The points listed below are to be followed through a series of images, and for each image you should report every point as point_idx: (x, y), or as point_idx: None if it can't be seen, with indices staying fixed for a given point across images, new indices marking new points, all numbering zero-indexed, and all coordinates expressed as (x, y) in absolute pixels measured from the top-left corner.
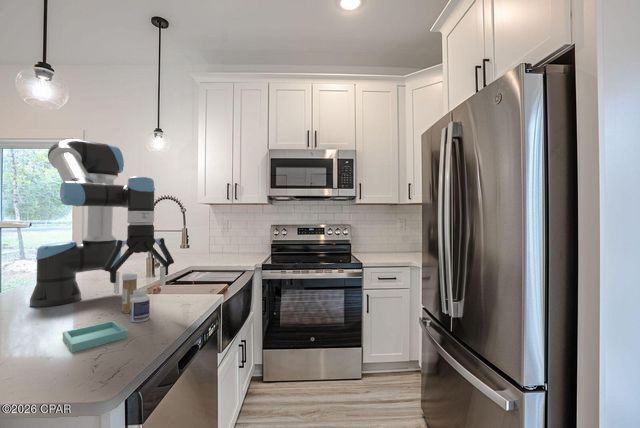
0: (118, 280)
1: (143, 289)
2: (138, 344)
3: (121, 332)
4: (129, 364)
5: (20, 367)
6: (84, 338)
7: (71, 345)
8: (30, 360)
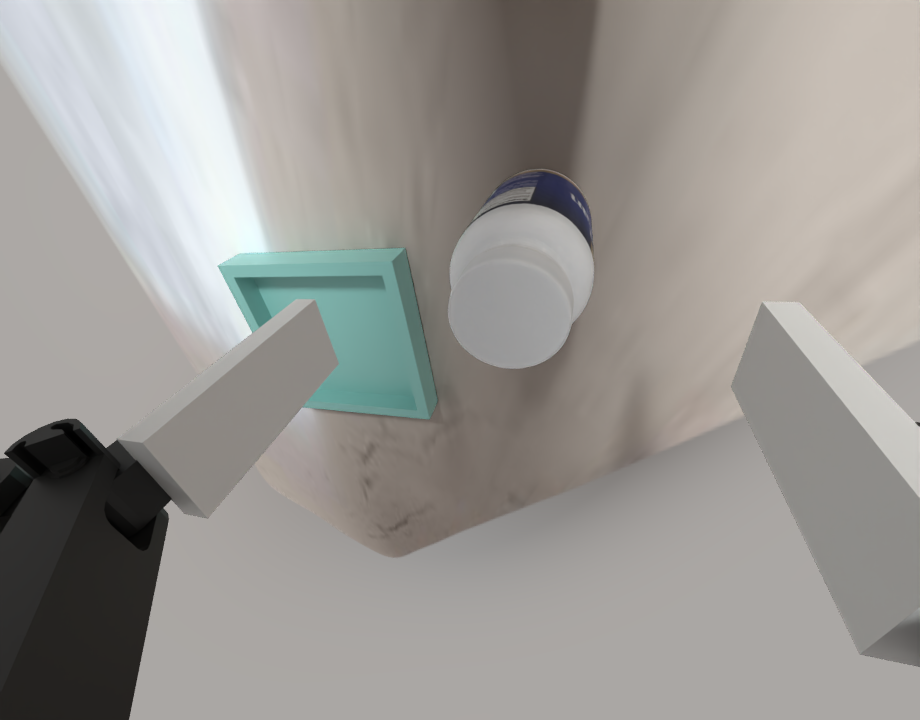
0: (266, 441)
1: (541, 310)
2: (458, 461)
3: (413, 416)
4: (424, 518)
5: None
6: None
7: None
8: None
